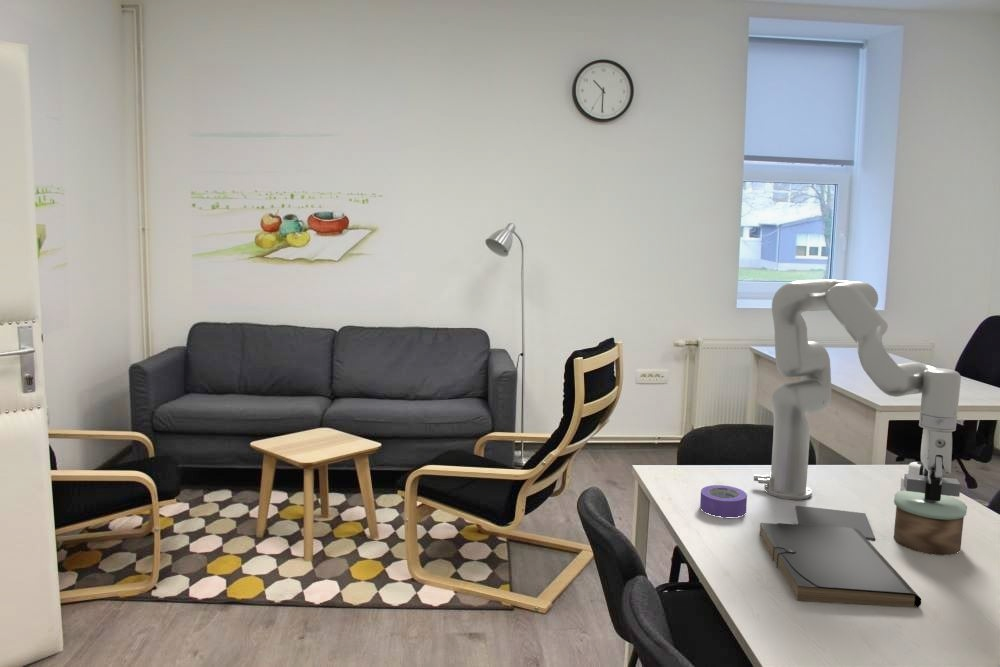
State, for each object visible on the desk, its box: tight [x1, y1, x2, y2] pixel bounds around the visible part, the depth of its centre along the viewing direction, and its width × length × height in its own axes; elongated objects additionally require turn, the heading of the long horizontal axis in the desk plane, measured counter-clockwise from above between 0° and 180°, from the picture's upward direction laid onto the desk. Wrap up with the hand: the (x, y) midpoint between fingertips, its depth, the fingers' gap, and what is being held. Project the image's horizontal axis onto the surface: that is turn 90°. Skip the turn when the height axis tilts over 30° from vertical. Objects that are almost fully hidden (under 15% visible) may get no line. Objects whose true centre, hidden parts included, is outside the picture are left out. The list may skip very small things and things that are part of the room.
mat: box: [795, 504, 876, 541], centre depth 195 cm, size 17×17×1 cm
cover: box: [893, 473, 968, 520], centre depth 182 cm, size 15×15×7 cm
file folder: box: [759, 522, 922, 608], centre depth 170 cm, size 33×4×24 cm
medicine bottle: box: [899, 461, 924, 492], centre depth 206 cm, size 7×7×12 cm
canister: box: [893, 505, 965, 556], centre depth 183 cm, size 14×14×8 cm
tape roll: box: [699, 484, 748, 517], centre depth 203 cm, size 12×12×5 cm
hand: (930, 495), depth 182 cm, fingers closed on cover, 4 cm apart
